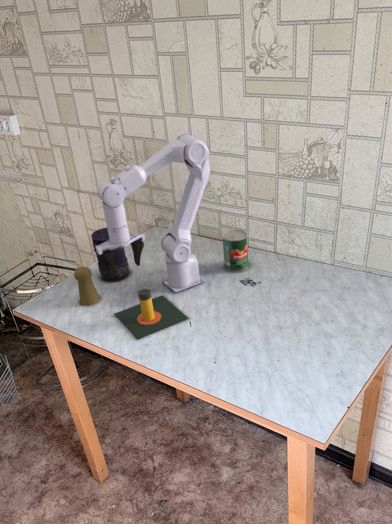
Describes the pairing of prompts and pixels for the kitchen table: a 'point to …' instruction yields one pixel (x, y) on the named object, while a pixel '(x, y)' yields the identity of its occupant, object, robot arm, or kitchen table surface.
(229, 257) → the canned tomato
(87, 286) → the olive pawn
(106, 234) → the storage jar
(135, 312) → the mat
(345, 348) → the kitchen table surface
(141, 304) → the glue stick
